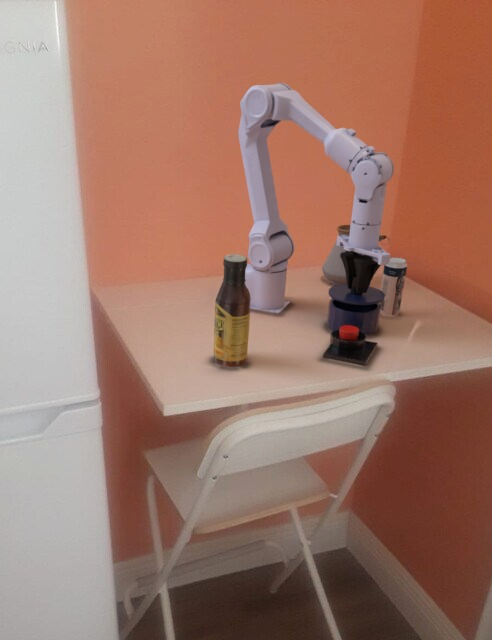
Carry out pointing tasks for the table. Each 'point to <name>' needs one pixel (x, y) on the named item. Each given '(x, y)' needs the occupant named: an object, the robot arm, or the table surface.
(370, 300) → the lid
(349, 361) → the control block
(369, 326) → the pot
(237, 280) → the sauce bottle
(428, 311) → the table surface
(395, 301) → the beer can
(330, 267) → the coffee pot
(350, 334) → the button
